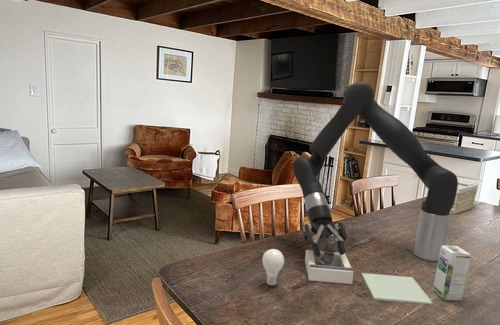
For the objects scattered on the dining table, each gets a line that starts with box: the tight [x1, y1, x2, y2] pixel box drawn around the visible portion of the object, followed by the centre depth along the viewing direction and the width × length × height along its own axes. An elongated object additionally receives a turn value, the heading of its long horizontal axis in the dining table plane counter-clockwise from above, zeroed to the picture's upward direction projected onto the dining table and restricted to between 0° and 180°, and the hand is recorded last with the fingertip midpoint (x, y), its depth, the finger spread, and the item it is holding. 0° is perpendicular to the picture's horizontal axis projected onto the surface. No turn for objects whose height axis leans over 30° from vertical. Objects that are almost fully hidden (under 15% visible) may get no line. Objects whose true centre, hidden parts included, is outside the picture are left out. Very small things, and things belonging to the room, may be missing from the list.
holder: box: [304, 249, 354, 285], centre depth 111 cm, size 13×13×5 cm
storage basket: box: [450, 179, 479, 215], centre depth 191 cm, size 24×16×15 cm
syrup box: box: [432, 244, 472, 301], centre depth 101 cm, size 6×6×14 cm
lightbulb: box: [261, 248, 285, 286], centre depth 101 cm, size 6×6×11 cm
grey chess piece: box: [319, 237, 337, 266], centre depth 111 cm, size 6×6×12 cm
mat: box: [361, 272, 433, 306], centre depth 104 cm, size 16×14×1 cm
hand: (330, 255), depth 110 cm, fingers open, 8 cm apart
